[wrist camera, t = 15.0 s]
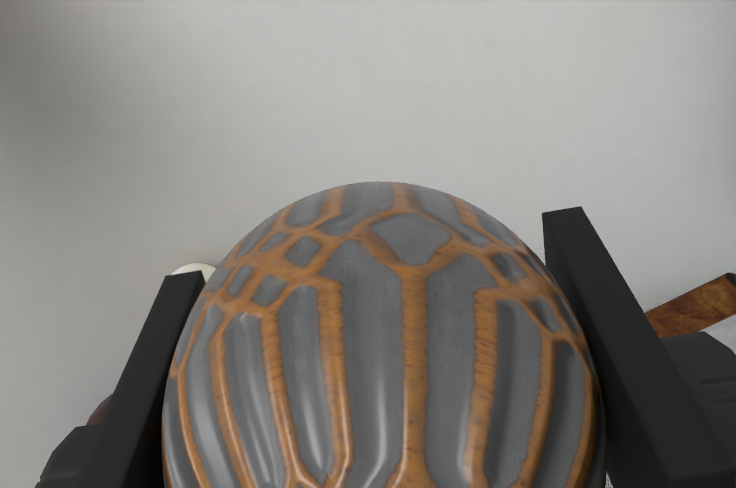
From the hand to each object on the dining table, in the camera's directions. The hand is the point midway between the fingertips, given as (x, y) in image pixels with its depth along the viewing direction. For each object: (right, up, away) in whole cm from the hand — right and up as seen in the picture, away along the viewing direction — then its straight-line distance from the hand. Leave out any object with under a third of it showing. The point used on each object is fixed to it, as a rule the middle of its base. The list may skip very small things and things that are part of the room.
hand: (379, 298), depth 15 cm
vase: (0, 0, 0) cm, 1 cm away
